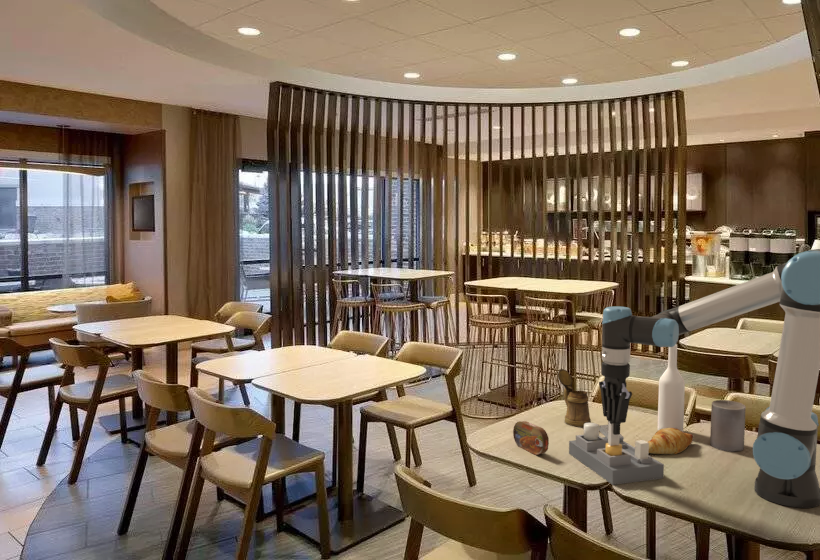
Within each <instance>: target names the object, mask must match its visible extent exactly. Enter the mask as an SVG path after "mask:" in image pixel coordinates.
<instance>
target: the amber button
mask: <svg viewBox="0 0 820 560" xmlns="http://www.w3.org/2000/svg"><path fill="white" fill-rule="evenodd" d="M605 453H607V454H608V455H610V456H617V455H622V445H621V444H619V445H613V446H610V445H609V444H608V443H606V452H605Z"/></svg>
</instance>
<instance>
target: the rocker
mask: <svg viewBox="0 0 820 560" xmlns="http://www.w3.org/2000/svg"><path fill="white" fill-rule="evenodd" d="M599 433H601V434H602V435H603V437H606V438H607V439H608V424H601V425H600V424H599ZM624 439H625V437H624V435H622V434H621V433H620V438H619V443H622V442H623V441H624Z"/></svg>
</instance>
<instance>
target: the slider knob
mask: <svg viewBox="0 0 820 560" xmlns="http://www.w3.org/2000/svg"><path fill="white" fill-rule="evenodd" d="M634 447H635V457H637V458H639V459H640V460H641V459H648V456H649V454H650V453H649V443H648V441H646V440H644V439H641V440H640V439H639V440H635V441H634Z"/></svg>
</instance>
